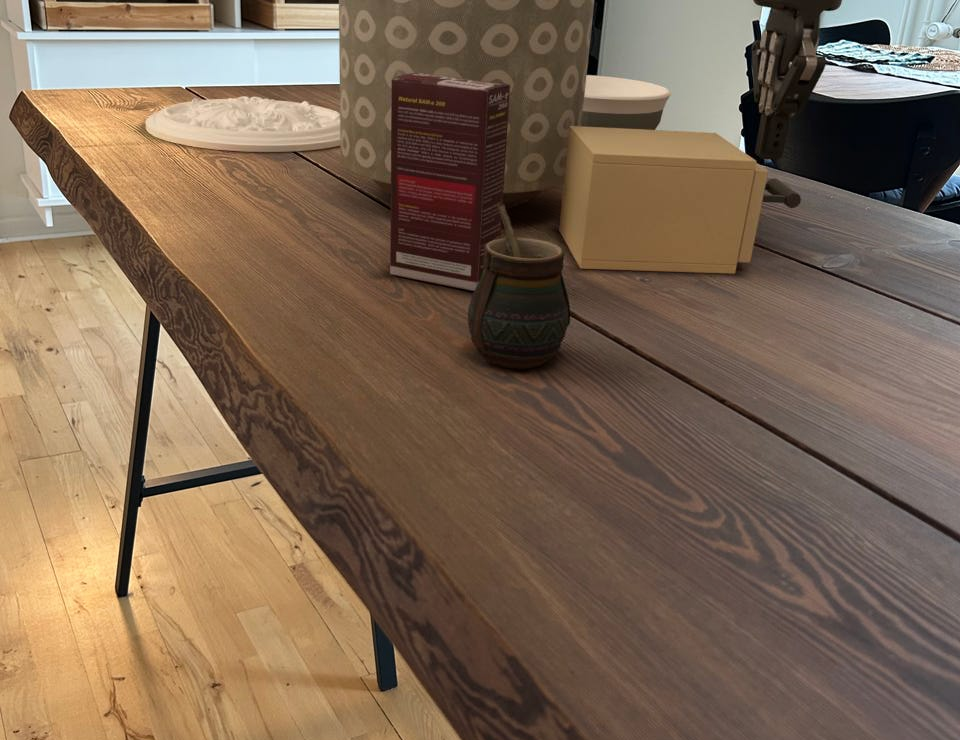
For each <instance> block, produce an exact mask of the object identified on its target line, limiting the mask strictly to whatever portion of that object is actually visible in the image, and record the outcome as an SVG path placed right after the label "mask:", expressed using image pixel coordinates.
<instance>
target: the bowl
mask: <svg viewBox="0 0 960 740" xmlns="http://www.w3.org/2000/svg"><path fill="white" fill-rule="evenodd" d="M671 95H672V94H671V91H670V89H668V88H667V87H664V86H662V85H659V84H656V83H653V82H652V83H651V82H647V81H644V80H643V81H642V80H637V79H631V78H624V77H614V76H604V75H594V74H593V75H592V74H587V75H586V85H585V95H584V104H583V114H582V123H581V126H582V127H603V128H623V129H644V130H657V128H658V126H659V125H660V123H661V121H662V116H663V113H664V109H665V107H666V104H667V102H668V100H669V98H670V97H671Z"/></svg>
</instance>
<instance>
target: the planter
mask: <svg viewBox="0 0 960 740" xmlns="http://www.w3.org/2000/svg"><path fill="white" fill-rule="evenodd" d="M594 7H595V0H338V44H339V46H338V47H339V48H338V49H339V51H338V52H339V53H338V54H339V55H338V56H339V113H340V146H339V148H340V151H339V152H340V154H339V155H340V163H341V164H342V167H344V168H345V169H346V170H348V171H350V172H352V173H353V174H356V175H358V176H360V177H363V178H366V179H369V180H371V181H373V182H374V183H375V184H376V185H377V186H378V187H380V188H381V189H382V190H383V191H385V192H386V193H388V194H389V195H391V98H392V81H391V79H392V78H394V77H397V76H401V75H405V74H411V73H423V74H431V75H438V76H446V77H455V78H462V79H471V80H478V81H487V82H495V83H503V84H509V85H510V95H509V111H508V127H507V143H506V159H505V175H504V190H503V204H505V209H506V210H508V209H511V208H514V207H516V206H518V205H520V204H524V203H525V202H527V201H529V200H531V199H533V198H534V197H536V196H537V195H539V194H540V193H541V192H542V191H544V190H549V189H554V188H557V187H561V186H564V177H565V167H566V157H567V147H568V137H569V127H570V126H581V123H582V114H583V104H584V95H585V85H586V75H588V66H589V54H590V46H591V45H590V44H591V38H592V37H591V36H592V29H593V28H592V26H593V17H594Z"/></svg>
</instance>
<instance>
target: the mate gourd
mask: <svg viewBox="0 0 960 740" xmlns="http://www.w3.org/2000/svg"><path fill="white" fill-rule="evenodd" d="M497 206H498V209H499V211H500V214H501V218H502V220H501V224H503V227H504V230H505V233H506V237H505V238H500V239H497V240H493V241H491V242H488V243H487V244H486V245H485V246H484V259H483V263H484V270H483V273H482V276H481V279H480V281H479V283H478V285H477V287H476V289H475V291H473V293H472V295H471V298H470V301H469V305H468V308H467V325H468V330H469V333H470V340H471V342H472V345H473V346H474V348H475V349H476V351H477V352H478V354H479V355H480V356H481V357H482V358H483V361H487V364H492V365H496V366H498V367H500V368H501V367H502V368H506V369H507V368H508V369H519V370H523V369H534V368H538V367H540V366H542V365H543V364H544V363H546V362H548V361H549V360H551V359H552V358H553V357H554V356H555V355H556V354H557V353H558V352H559V350H560V349H561V347H562V342H563V340H564V339H565V337H566V333H567V331H568V327H569V325H570V324H571V308H570V307H571V305H570V301H569V300H570V299H569V297H568V292H567V288H566V285H565V281H564V277H563V273H562V271H563V269H564V259H565V250H564V249H563V248H561V247H560V246H559V245H557V244H555V243H552V242H550V241H546V240H541V239H536V238H525V237H516V234H515V230H514V228H513V226H512V222H511V219H510V216H509V215H508V211H507V209H505V204H502V205H498V204H497Z"/></svg>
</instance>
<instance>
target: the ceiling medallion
mask: <svg viewBox="0 0 960 740" xmlns="http://www.w3.org/2000/svg"><path fill="white" fill-rule="evenodd" d="M145 130H146V132H147V133H148V134H150V135H151V136H153V137H155V138H157V139H160V140H163V141H166V142H169V143H174V144H177V145H182V146H189V147H193V148H202V149H208V150H209V149H210V150H218V151H229V152H231V151H232V152H248V153H249V152H251V153H287V152H304V151H305V152H306V151H315V150H324V149H330V148H335V147H340V111H336V110H334V109H330V108H328V107H325V106H324V107H323V106H320V105H319V106H318V105H315V104H311V103H309V102H308V101H306V100H304V101H303V100H302V102H296V101H295V102H294V101H287V100H275V99H274V98H271V99H269V98H262V97H261V96H251V97H249V96H246V95H244V96H243V95H242V96H239V97H234V98H232V97H229V98H214V99H201V100H200V99H198V98H196V97H194V98H193V99H192V100H191V101H184V102H179V103H178V102H177V103H174V104H171V105H168V106H165V107H164V108H162V109H160V110H158V111H156V112H154V113H152V114H150V116H148V117H147V118H146V119H145Z"/></svg>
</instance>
